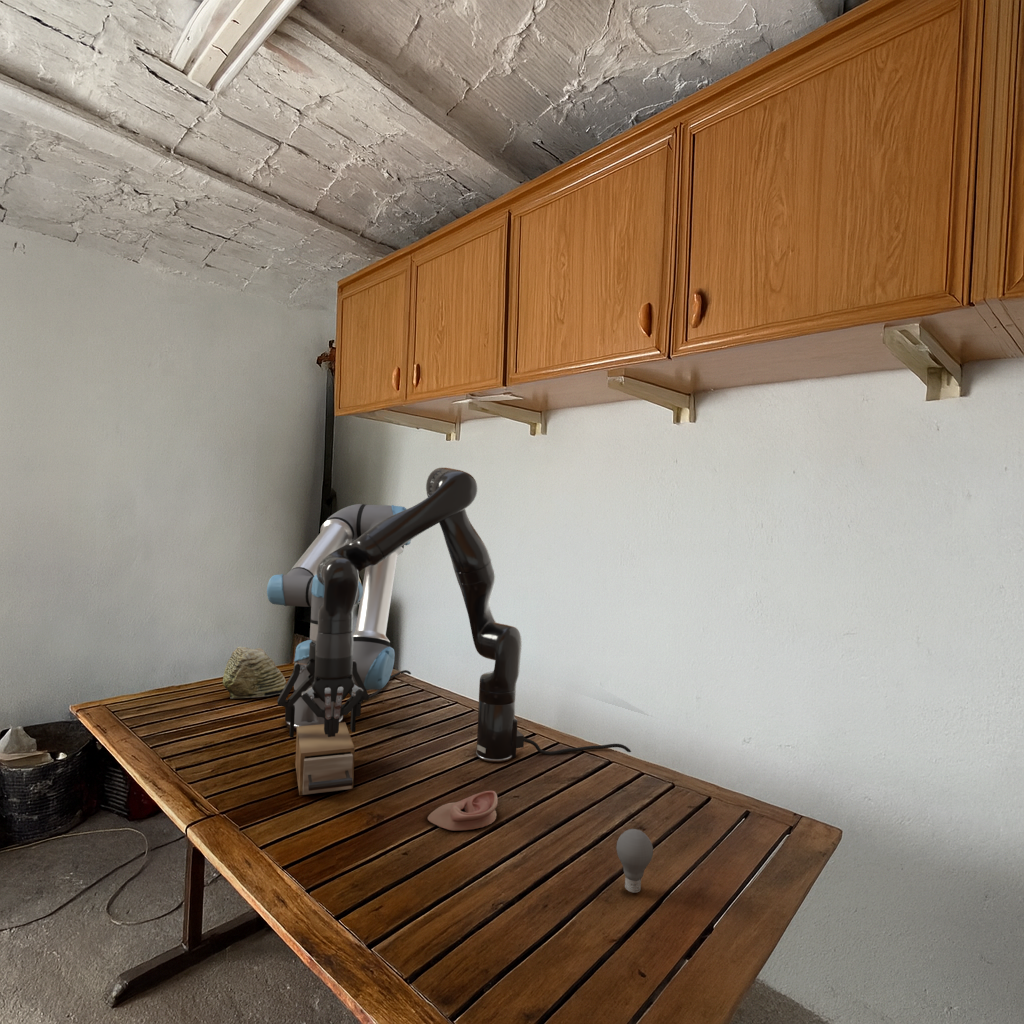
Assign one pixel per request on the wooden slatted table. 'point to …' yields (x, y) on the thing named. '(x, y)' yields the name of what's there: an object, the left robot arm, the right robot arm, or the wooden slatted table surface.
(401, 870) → the wooden slatted table surface
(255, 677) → the fossil
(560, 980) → the wooden slatted table surface
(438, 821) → the anatomical model
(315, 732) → the cabinet
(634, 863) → the light bulb
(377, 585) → the left robot arm
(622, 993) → the wooden slatted table surface
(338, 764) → the drawer
